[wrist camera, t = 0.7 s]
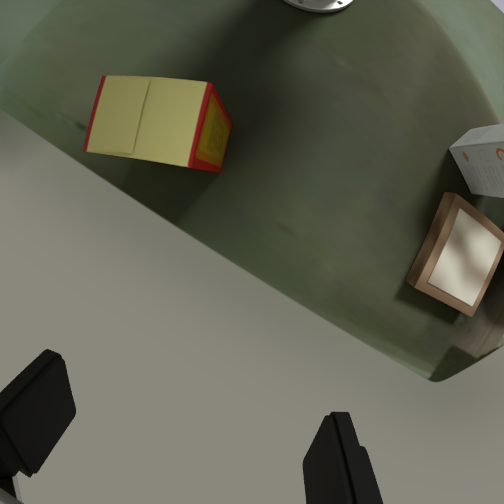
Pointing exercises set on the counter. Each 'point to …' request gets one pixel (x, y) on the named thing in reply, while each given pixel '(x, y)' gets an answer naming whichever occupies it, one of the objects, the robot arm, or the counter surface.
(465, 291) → the picture frame
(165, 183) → the counter surface
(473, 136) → the small box
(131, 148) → the baking soda box
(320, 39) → the counter surface
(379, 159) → the counter surface
